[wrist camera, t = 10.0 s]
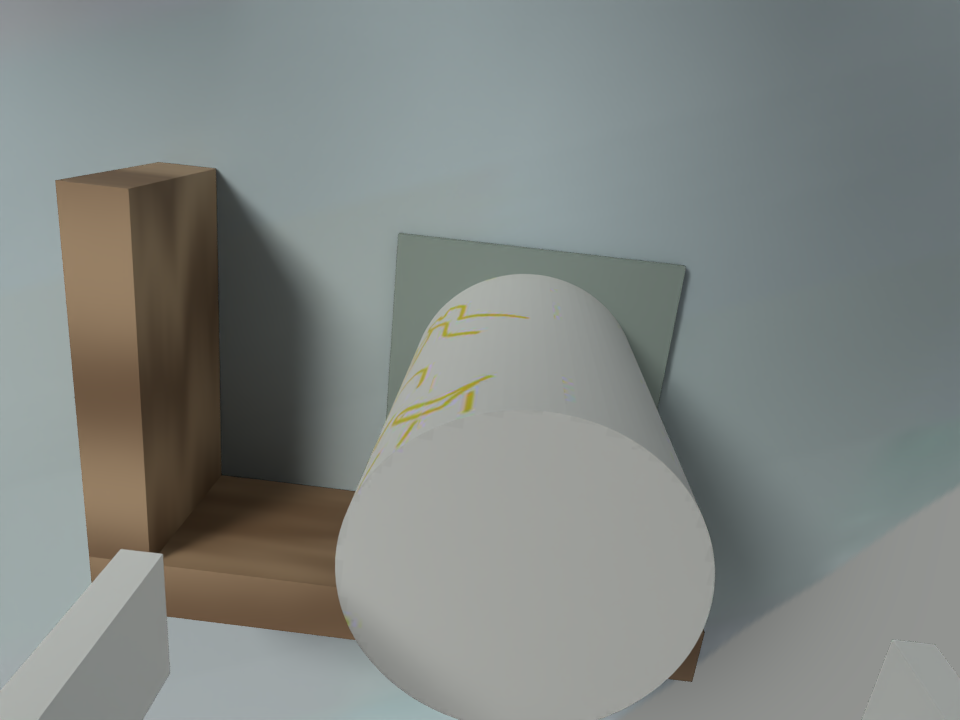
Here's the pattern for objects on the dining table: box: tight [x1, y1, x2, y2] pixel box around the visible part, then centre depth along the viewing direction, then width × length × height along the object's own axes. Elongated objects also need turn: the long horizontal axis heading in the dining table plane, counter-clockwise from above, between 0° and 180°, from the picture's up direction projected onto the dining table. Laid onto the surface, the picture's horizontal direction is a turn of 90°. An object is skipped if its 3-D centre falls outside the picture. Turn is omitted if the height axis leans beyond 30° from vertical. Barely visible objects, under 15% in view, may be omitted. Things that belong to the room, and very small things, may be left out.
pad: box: [386, 233, 686, 420], centre depth 27 cm, size 10×10×1 cm
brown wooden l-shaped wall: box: [55, 162, 705, 682], centre depth 25 cm, size 14×20×6 cm
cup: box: [335, 274, 715, 720], centre depth 22 cm, size 8×8×12 cm
